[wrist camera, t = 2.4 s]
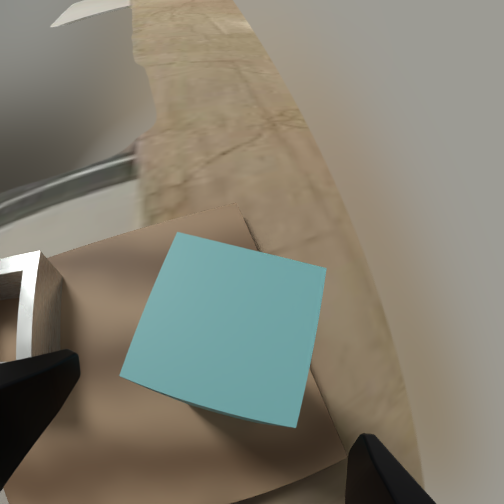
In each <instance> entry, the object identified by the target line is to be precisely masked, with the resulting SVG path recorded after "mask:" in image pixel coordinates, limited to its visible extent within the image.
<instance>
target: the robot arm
mask: <svg viewBox="0 0 504 504" xmlns="http://www.w3.org/2000/svg"><path fill="white" fill-rule="evenodd" d="M80 375H81V370H80V361H79V355H78V354H77V353H76V352H74V351H72V350H70V349H63V350H59V351H55V352H50V353H46V354H42V355H37V356H33V357H28V358H24V359H19V360H14V361H10V362H5V363H0V491H1V490H2V489H3V487H4V486H5V484H6V483H7V481H8V480H9V479H10V477H11V476H12V474H13V473H14V472H15V470H16V469H17V467H18V466H19V465H20V463H21V462H22V460H23V459H24V458H25V456H26V455H27V454H28V452H29V451H30V449H31V448H32V447H33V445H34V444H35V443H36V441H37V440H38V439H39V437H40V436H41V435H42V433H43V432H44V431H45V429H46V428H47V427H48V426H49V424H50V423H51V422H52V420H53V419H54V418H55V416H56V415H57V414H58V412H59V411H60V409H61V408H62V406H63V405H64V403H65V401H66V400H67V398H68V396H69V395H70V393H71V391H72V390H73V388H74V387H75V385H76V383H77V382H78V380H79V378H80ZM345 504H436V503H435V502H434V501H433V499H431V497H430V496H429V495H428V494H427V493H426V492H425V491H424V490H423V489H422V487H421V486H420V485H419V484H418V483H417V482H416V481H415V480H414V479H413V477H412V476H411V475H410V474H409V473H408V472H407V471H406V470H405V469H404V467H403V466H402V465H401V464H400V463H399V462H398V461H397V460H396V459H395V457H394V456H393V455H392V454H391V453H390V452H389V451H388V449H387V448H386V447H385V446H384V445H383V444H382V443H381V442H380V440H379V439H378V438H377V437H376V436H375V435H374V434H366V433H363V434H361V435H360V436H359V437H358V439H357V440H356V442H355V443H354V445H353V446H352V448H351V449H350V451H349V455H348V468H347V481H346V493H345Z"/></svg>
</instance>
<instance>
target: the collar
mask: <svg viewBox="0 0 504 504" xmlns="http://www.w3.org/2000/svg"><path fill="white" fill-rule="evenodd" d="M62 283H63V276H62V275H61V274H60V273H59V272H58V270H57V269H56V268H55V267H54V266H53V265H52V264H51V263H50V261H49V260H48V259H47V258H46V257H45V256H44V255H43V253H42V252H41V251H36V252H31V253H27V254H22V255H17V256H12V257H8V258H3V259H0V300H5V299H13V298H20V299H19V309H18V321H17V339H16V360H19V359H24V358H28V357H33V356H37V355H42V354H46V353H50V352H55V351H59V350H60V322H61V297H62ZM0 363H5V362H0Z"/></svg>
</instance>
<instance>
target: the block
mask: <svg viewBox="0 0 504 504" xmlns="http://www.w3.org/2000/svg"><path fill="white" fill-rule="evenodd" d="M325 275H326V268H323V267H319V266H315V265H311V264H307V263H303V262H299V261H295V260H291V259H287V258H283V257H279V256H274V255H270V254H266V253H262V252H258V251H254V250H250V249H246V248H242V247H238V246H234V245H229V244H225V243H221V242H217V241H213V240H209V239H205V238H201V237H197V236H193V235H188V234H184V233H180V232H177V234H176V236H175V238H174V240H173V242H172V245H171V247H170V249H169V251H168V254H167V256H166V258H165V260H164V263H163V265H162V267H161V270H160V272H159V274H158V277H157V279H156V281H155V284H154V286H153V289H152V291H151V293H150V296H149V298H148V301H147V303H146V306H145V308H144V311H143V313H142V316H141V318H140V321H139V323H138V326H137V329H136V331H135V334H134V336H133V339H132V342H131V344H130V347H129V350H128V353H127V355H126V358H125V361H124V364H123V367H122V369H121V372H120V375H119V376H120V377H122V378H125V379H127V380H129V381H131V382H134V383H136V384H138V385H140V386H143V387H145V388H148V389H150V390H152V391H155V392H157V393H160V394H162V395H165V396H167V397H170V398H173V399H175V400H178V401H181V402H183V403H186V404H189V405H192V406H195V407H199V408H202V409H205V410H209V411H212V412H216V413H219V414H223V415H227V416H231V417H234V418H238V419H242V420H247V421H251V422H255V423H261V424H268V425H275V426H283V427H291V428H296V426H297V422H298V417H299V413H300V409H301V404H302V400H303V396H304V391H305V386H306V382H307V377H308V372H309V367H310V362H311V357H312V352H313V347H314V342H315V336H316V331H317V325H318V319H319V313H320V307H321V301H322V295H323V288H324V282H325Z"/></svg>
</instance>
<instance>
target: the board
mask: <svg viewBox="0 0 504 504" xmlns="http://www.w3.org/2000/svg"><path fill="white" fill-rule="evenodd" d="M177 232H180V233H184V234H188V235H193V236H197V237H201V238H205V239H209V240H213V241H217V242H221V243H225V244H229V245H234V246H238V247H242V248H246V249H250V250H254V251H258V250H257V248H256V245H255V243H254V241H253V239H252V236H251V234H250V232H249V230H248V227H247V225H246V223H245V221H244V218H243V216H242V214H241V212H240V209H239V207H238V205H237V203H232V204H229V205H225V206H221V207H217V208H213V209H209V210H205V211H201V212H198V213H194V214H190V215H187V216H183V217H179V218H176V219H172V220H168V221H165V222H161V223H158V224H154V225H151V226H147V227H144V228H140V229H137V230H134V231H130V232H127V233H124V234H120V235H117V236H114V237H111V238H107V239H104V240H101V241H98V242H95V243H91V244H88V245H85V246H82V247H79V248H76V249H73V250H70V251H67V252H64V253H61V254H58V255H55V256H52V257H49V258H47V259H48V260H49V261H50V263H51V264H52V265H53V266H54V267H55V268H56V269H57V270H58V272H59V273H60V274H61V275H62V276H63V283H62V297H61V322H60V350H63V349H70V350H72V351H74V352H76V353H77V354H78V355H79V361H80V370H81V375H80V378H79V380H78V382H77V383H76V385H75V387H74V388H73V390H72V391H71V393H70V395H69V396H68V398H67V400H66V401H65V403H64V405H63V406H62V408H61V409H60V411H59V412H58V414H57V415H56V416H55V418H54V419H53V420H52V422H51V423H50V424H49V426H48V427H47V428H46V429H45V431H44V432H43V433H42V435H41V436H40V437H39V439H38V440H37V441H36V443H35V444H34V445H33V447H32V448H31V449H30V451H29V452H28V454H27V455H26V456H25V458H24V459H23V460H22V462H21V463H20V465H19V466H18V467H17V469H16V470H15V472H14V473H13V474H12V476H11V477H10V479H9V480H8V481H7V483H6V484H5V486H4V487H3V488H4V491H5V494H6V497H7V499H8V502H9V504H230V503H234V502H237V501H241V500H244V499H247V498H251V497H254V496H257V495H260V494H263V493H266V492H269V491H271V490H274V489H277V488H280V487H282V486H285V485H288V484H290V483H293V482H295V481H298V480H300V479H302V478H305V477H307V476H309V475H312V474H314V473H316V472H318V471H321V470H323V469H325V468H327V467H329V466H331V465H333V464H335V463H337V462H340V461H341V460H343V459H345V458H347V457H348V456H347V454H346V451H345V449H344V447H343V444H342V442H341V440H340V438H339V435H338V433H337V431H336V428H335V426H334V424H333V421H332V419H331V417H330V414H329V412H328V410H327V407H326V405H325V403H324V400H323V398H322V396H321V394H320V391H319V389H318V387H317V384H316V382H315V380H314V377H313V375H312V373H311V371H310V368H309V372H308V377H307V382H306V386H305V391H304V396H303V400H302V404H301V409H300V413H299V417H298V422H297V426H296V428H291V427H283V426H275V425H268V424H261V423H255V422H251V421H247V420H242V419H238V418H234V417H231V416H227V415H223V414H219V413H216V412H212V411H209V410H205V409H202V408H199V407H195V406H192V405H189V404H186V403H183V402H181V401H178V400H175V399H173V398H170V397H167V396H165V395H162V394H160V393H157V392H155V391H152V390H150V389H148V388H145V387H143V386H140V385H138V384H136V383H134V382H131V381H129V380H127V379H125V378H122V377H120V376H119V375H120V372H121V369H122V367H123V364H124V361H125V358H126V355H127V353H128V350H129V347H130V344H131V342H132V339H133V336H134V334H135V331H136V329H137V326H138V323H139V321H140V318H141V316H142V313H143V311H144V308H145V306H146V303H147V301H148V298H149V296H150V293H151V291H152V289H153V286H154V284H155V281H156V279H157V277H158V274H159V272H160V270H161V267H162V265H163V263H164V260H165V258H166V256H167V254H168V251H169V249H170V247H171V245H172V242H173V240H174V238H175V236H176V234H177ZM19 299H20V298H13V299H5V300H0V362H10V361H14V360H16V339H17V321H18V309H19Z"/></svg>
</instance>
